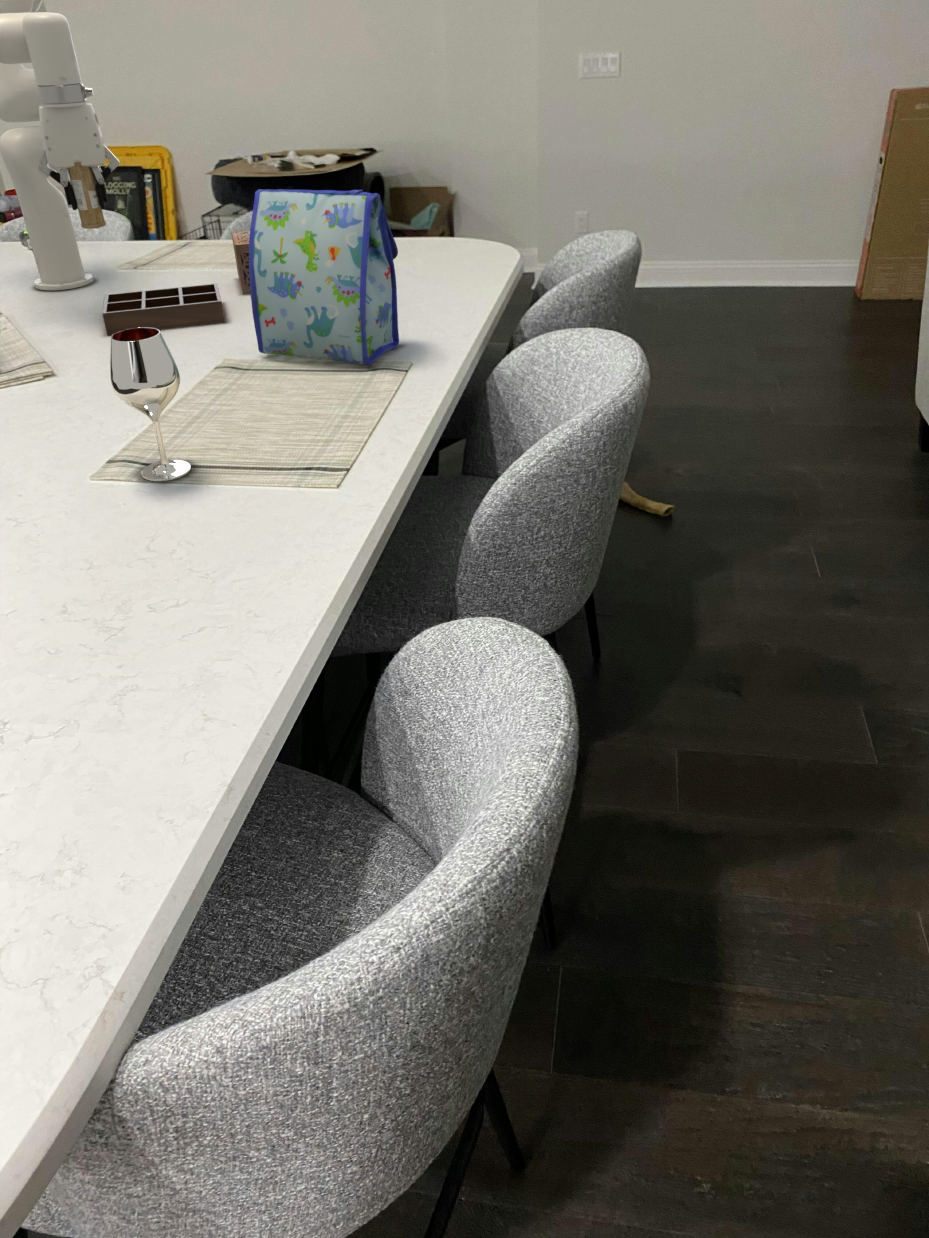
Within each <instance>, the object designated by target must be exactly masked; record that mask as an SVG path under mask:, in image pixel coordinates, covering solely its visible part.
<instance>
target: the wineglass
mask: <svg viewBox="0 0 929 1238" xmlns="http://www.w3.org/2000/svg"><path fill="white" fill-rule="evenodd" d="M109 359H110V360H109V365H110V366H109V371H110V383H111V386H112V389H113V391H114V393H115V394H116V395H117V397H118V398H119V399H120V401H121V400H122V402H124V403H125V404H126V405H128V406H129V407H130V408H133V409H135V410H137V411H138V412H140V413H142V414H144V415H145V416H146V417H147V418H149V420H151V422H152V427H153V431H154V434H155V440H156V444H157V447H158V448H157V449H158V454H159V458H160V461H156V462H153V463H151V464H148V465H145V467H144V468H143V469H142V470H141V472H140V475H141V477H142V478H143V479H144V480H147V481H150V482H167V481H172V480H177V479H180V478H182V477H184V476H186V475H188V474H189V473H190V472H191V469H192V466H191V463H189V462H188V461H186V460H183V459H168V455H167V451H166V448H165V447H166V446H165V443H164V439H163V434H162V430H161V425H160V417H161V414H162V413H163V411H164V410H165V408H166V407H167V406H168V405H169V404H171V402H172V400H174V398H175V396H176V395H177V393H178V392H179V388H180V384H181V376H180V371H179V368H178V365H177V363H176V361H175V359H174V357H173V354H172V352H171V350H170V349H169V346H168V345H167V343H166V341H165V339H164V337H163V334H162V333H161V331H160V330H158V329H155V328H132V329H127V330H122V331H119V332H117V333H115V334H113V335H110V358H109Z"/></svg>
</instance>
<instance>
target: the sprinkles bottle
mask: <svg viewBox="0 0 929 1238" xmlns="http://www.w3.org/2000/svg"><path fill="white" fill-rule="evenodd" d="M72 161H81V159H80V157H79V156H78V155H74V156H73V159H72ZM81 163H82V162H75V163H74V164H75V165H74V166H73V167H71V168H68V172H69V181H70V183H71V186H72V189H73V193H74V197H75V201H76V205H77V209H76V210H77V211H78V215H79V219H80V226H81V228H82V229H87V230H95V229H100V228H103V227H106V225H107V222H106V221H105V217H104V214H103V208H102V207H101V206H100V202H99V197H98V193H97V189H96V184H97V182H96V178H95V174H94V172H93V170H92V168H91V167H86V166H82V165H81Z"/></svg>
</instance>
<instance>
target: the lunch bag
mask: <svg viewBox="0 0 929 1238" xmlns="http://www.w3.org/2000/svg"><path fill="white" fill-rule="evenodd" d="M252 207H253V208H252V214H251V221H250V228H249V230H250V239H249V274H250V287H251V294H250V301H251V309H252V319H253V325H254V332H255V335H256V341H257V349H258V352H259V353H261V354H264V355H266V354H267V355H272V356H274V355H275V356H284V357H291V358H300V359H311V360H319V361H330V362H331V361H332V362H338V363H339V362H340V363H348V364H355V365H356V364H357V365H358V364H359V365H360V364H361V365H366V366H370V365H372V364H373V363H374V362H375V361H377V359H378V358H379V357H381V356H382V355H383V354H384V353H386V352H388V351H390V350H393V349H395V348H397V347H398V346H399V345H400V334H399V320H398V319H399V317H398V316H399V314H398V313H399V312H398V294H397V293H398V291H397V290H398V288H397V278H396V269H395V264H394V263H395V262H394V260H395V259H396V258H397V257H398V255H399V250H398V245H397V243H396V239H395V238H394V234H393V233H392V230H391V227H390V225H389V221H388V218H387V215H386V212H385V208H384V205H383V202H382V199H381V195H380V194H379V193H378V192H374V193H371V192H367V191H363V189H351V190H335V189H322V190H321V189H319V190H317V189H313V190H312V189H285V188H284V189H282V188H279V189H278V188H277V189H272V188H271V189H268V188H266V189H260V188H258V189H257V190H255V192H254V201H253V206H252Z"/></svg>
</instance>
